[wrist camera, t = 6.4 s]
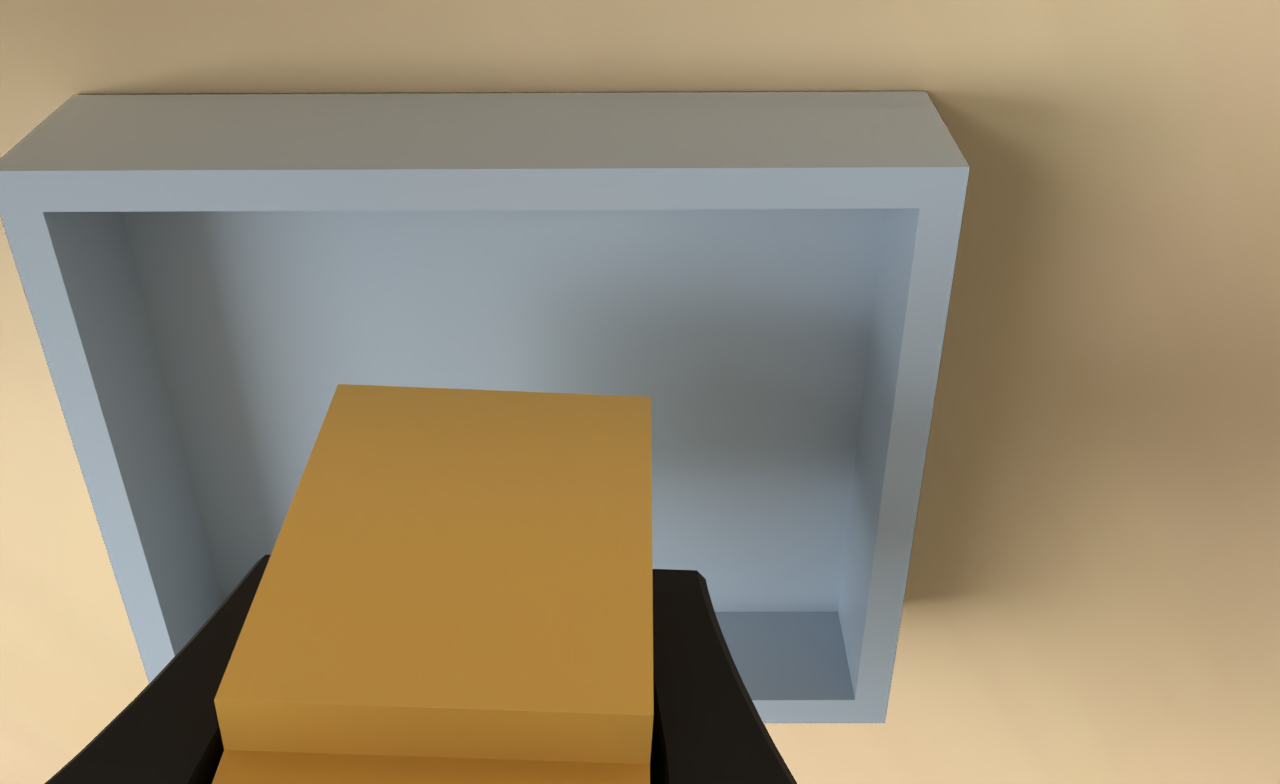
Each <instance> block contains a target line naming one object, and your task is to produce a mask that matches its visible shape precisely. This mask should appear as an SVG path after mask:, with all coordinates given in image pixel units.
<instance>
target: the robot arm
mask: <svg viewBox="0 0 1280 784" xmlns="http://www.w3.org/2000/svg"><path fill="white" fill-rule="evenodd" d="M270 556H271V555H264V556H263V557H262V558H261V559H260V560H258V561H257V562H256V563H255V565H254V566H253V567H252V568H251V569H250V571H249V572H248V573H247V574H246V575H245V577H244V578H243V579H242V580H241V581H240V582H239V584H238V585H237V586H236V587H235V588H234V590H233V591H232V592H231V593H230V594H229V596H228V597H227V598H226V599H225V600H224V601H223V603H222V604H221V605H220V606H219V607H218V608H217V610H216V611H215V612H214V613H213V614H212V615H211V617H210V618H209V619H208V620H207V621H206V622H205V623H204V625H203V626H202V627H201V628H200V629H199V630H198V631H197V632H196V634H195V635H194V636H193V637H192V638H191V639H190V640H189V642H188V643H187V644H186V645H185V646H184V647H183V648H182V649H181V650H180V651H179V652H178V653H177V655H176V656H175V657H174V658H173V659H172V660H171V661H170V662H169V663H168V664H167V665H166V666H165V667H164V669H163V670H162V671H161V672H160V673H159V674H158V675H157V676H156V677H155V678H154V679H153V680H152V681H151V683H150V684H149V685H148V686H147V687H146V688H145V689H144V690H143V691H142V692H141V693H140V694H139V695H138V696H137V697H136V698H135V699H134V700H133V701H132V702H131V703H130V704H129V705H128V706H127V707H126V708H125V709H124V710H123V711H122V712H121V713H120V714H119V715H118V716H117V717H116V718H115V719H114V720H113V721H112V722H111V723H110V724H109V725H108V726H107V727H105V728H104V729H103V730H102V731H101V732H100V733H99V734H98V735H97V736H96V737H95V738H94V739H93V740H92V741H91V742H90V743H89V744H88V745H87V746H86V747H85V748H84V749H83V750H82V751H81V752H80V753H79V754H77V755H76V756H75V757H74V758H73V759H72V760H71V761H70V762H69V763H67V764H66V765H65V766H64V767H63V768H62V769H61V770H60V771H59V772H58V773H56V774H55V775H54V776H53V777H52V778H51V779H50V780H48V781H47V782H46V783H45V784H212V782H213V779H214V776H215V774H216V771H217V768H218V765H219V763H220V760H221V757H222V754H223V752H224V747H223V742H222V737H221V732H220V727H219V722H218V717H217V713H216V708H215V703H214V699H215V696H216V694H217V691H218V689H219V686H220V684H221V681H222V678H223V676H224V673H225V671H226V668H227V666H228V663H229V661H230V658H231V656H232V653H233V650H234V648H235V645H236V643H237V640H238V638H239V635H240V633H241V630H242V628H243V625H244V622H245V620H246V617H247V615H248V612H249V610H250V607H251V605H252V602H253V600H254V597H255V594H256V592H257V589H258V587H259V584H260V582H261V579H262V577H263V574H264V572H265V569H266V566H267V564H268V561H269V559H270ZM652 571H653V693H654V718H653V731H652V744H651V757H650V784H797V783H796V781H795V779H794V778H793V776H792V774H791V772H790V771H789V769H788V767H787V765H786V764H785V762H784V760H783V758H782V757H781V755H780V753H779V751H778V750H777V748H776V746H775V744H774V742H773V741H772V739H771V737H770V735H769V733H768V731H767V729H766V727H765V725H764V724H763V722H762V720H761V718H760V716H759V714H758V711H757V709H756V707H755V705H754V703H753V701H752V699H751V697H750V695H749V693H748V691H747V689H746V687H745V685H744V683H743V681H742V679H741V676H740V674H739V672H738V670H737V667H736V665H735V663H734V661H733V658H732V656H731V653H730V651H729V648H728V646H727V643H726V641H725V639H724V636H723V634H722V631H721V628H720V625H719V623H718V620H717V617H716V614H715V611H714V608H713V605H712V602H711V598H710V595H709V591H708V587H707V583H706V579H705V578H704V577H703V576H702V575H701V574H700V573H699V572H698V571H697V570H672V569H652Z"/></svg>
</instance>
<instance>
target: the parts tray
mask: <svg viewBox="0 0 1280 784" xmlns="http://www.w3.org/2000/svg"><path fill="white" fill-rule="evenodd" d="M969 170H970V166H969V165H968V163H967V161H966V159H965V158H964V156H963V154H962V153H961V151H960V149H959V147H958V146H957V144H956V142H955V140H954V139H953V137H952V135H951V134H950V132H949V130H948V128H947V127H946V125H945V123H944V121H943V120H942V118H941V116H940V115H939V113H938V111H937V109H936V108H935V106H934V104H933V103H932V101H931V99H930V97H929V96H928V94H927V92H926V91H865V92H631V93H397V94H163V95H73V96H72V97H70V98H69V99H68V100H67V101H66V102H65V103H64V104H62V105H61V106H60V107H59V108H58V109H57V110H56V111H54V112H53V113H52V114H51V115H50V116H49V117H47V118H46V119H45V120H44V121H43V122H42V123H41V124H39V125H38V126H37V127H36V128H35V129H34V130H33V131H31V132H30V133H29V134H28V135H27V136H26V137H25V138H23V139H22V140H21V141H20V142H19V143H18V144H16V145H15V146H14V147H13V148H12V149H11V150H10V151H8V152H7V153H6V154H5V155H4V156H3V157H2V158H0V217H1V220H2V223H3V226H4V229H5V232H6V236H7V239H8V242H9V245H10V248H11V251H12V254H13V258H14V261H15V264H16V267H17V270H18V273H19V276H20V279H21V283H22V286H23V289H24V292H25V295H26V298H27V301H28V305H29V308H30V311H31V314H32V317H33V320H34V323H35V327H36V330H37V333H38V336H39V339H40V342H41V345H42V349H43V352H44V355H45V358H46V361H47V364H48V367H49V370H50V374H51V377H52V380H53V383H54V386H55V389H56V392H57V396H58V399H59V402H60V405H61V408H62V411H63V414H64V418H65V421H66V424H67V427H68V430H69V433H70V436H71V440H72V443H73V446H74V449H75V452H76V455H77V458H78V462H79V465H80V468H81V471H82V474H83V477H84V480H85V483H86V487H87V490H88V493H89V496H90V499H91V502H92V505H93V509H94V512H95V515H96V518H97V521H98V524H99V527H100V531H101V534H102V537H103V540H104V543H105V546H106V549H107V553H108V556H109V559H110V562H111V565H112V568H113V571H114V574H115V578H116V581H117V584H118V587H119V590H120V593H121V596H122V600H123V603H124V606H125V609H126V612H127V615H128V618H129V622H130V625H131V628H132V631H133V634H134V637H135V640H136V644H137V647H138V650H139V653H140V656H141V659H142V662H143V665H144V669H145V672H146V675H147V678H148V681H149V684H150V683H151V681H152V680H153V679H154V678H155V677H156V676H157V675H158V674H159V673H160V672H161V671H162V670H163V669H164V667H165V666H166V665H167V664H168V663H169V662H170V661H171V660H172V659H173V658H174V657H175V656H176V655H177V653H178V652H179V651H180V650H181V649H182V648H183V647H184V646H185V645H186V644H187V643H188V642H189V640H190V639H191V638H192V637H193V636H194V635H195V634H196V632H197V631H198V630H199V629H200V628H201V627H202V626H203V625H204V623H205V622H206V621H207V620H208V619H209V618H210V617H211V615H212V614H213V613H214V612H215V611H216V610H217V608H218V607H219V606H220V605H221V604H222V603H223V601H224V600H225V599H226V598H227V597H228V596H229V594H230V593H231V592H232V591H233V590H234V588H235V587H236V586H237V585H238V584H239V582H240V581H241V580H242V579H243V578H244V577H245V575H246V574H247V573H248V572H249V571H250V569H251V568H252V567H253V566H254V565H255V563H256V562H257V561H258V560H260V559H261V558H262V557H263V556H264V555H271V554H272V551H273V549H274V546H275V544H276V541H277V538H278V536H279V533H280V531H281V528H282V526H283V523H284V521H285V518H286V516H287V513H288V510H289V508H290V505H291V503H292V500H293V498H294V495H295V493H296V490H297V488H298V485H299V482H300V480H301V477H302V475H303V472H304V470H305V467H306V465H307V462H308V460H309V457H310V454H311V452H312V449H313V447H314V444H315V442H316V439H317V437H318V434H319V432H320V429H321V426H322V424H323V421H324V419H325V416H326V414H327V411H328V409H329V406H330V404H331V401H332V398H333V396H334V393H335V391H336V388H337V386H338V384H350V385H375V386H399V387H424V388H448V389H473V390H497V391H522V392H546V393H571V394H595V395H620V396H644V397H651V449H652V569H672V570H697V571H698V572H699V573H700V574H701V575H702V576H703V577H704V578H705V579H706V583H707V587H708V591H709V595H710V598H711V602H712V605H713V608H714V611H715V614H716V617H717V620H718V623H719V625H720V628H721V631H722V634H723V636H724V639H725V641H726V643H727V646H728V648H729V651H730V653H731V656H732V658H733V661H734V663H735V665H736V667H737V670H738V672H739V674H740V676H741V679H742V681H743V683H744V685H745V687H746V689H747V691H748V693H749V695H750V697H751V699H752V701H753V703H754V705H755V707H756V709H757V711H758V714H759V716H760V718H761V720H762V722H763V723H885V719H886V713H887V706H888V700H889V693H890V687H891V680H892V674H893V667H894V661H895V654H896V648H897V641H898V634H899V628H900V621H901V615H902V608H903V602H904V595H905V589H906V582H907V576H908V569H909V562H910V556H911V549H912V543H913V536H914V530H915V523H916V517H917V510H918V504H919V497H920V490H921V484H922V477H923V471H924V464H925V458H926V451H927V445H928V438H929V432H930V425H931V418H932V412H933V405H934V399H935V392H936V386H937V379H938V373H939V366H940V360H941V353H942V346H943V340H944V333H945V327H946V320H947V314H948V307H949V301H950V294H951V288H952V281H953V275H954V268H955V261H956V255H957V248H958V242H959V235H960V229H961V222H962V216H963V209H964V203H965V196H966V189H967V183H968V176H969Z"/></svg>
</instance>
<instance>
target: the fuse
mask: <svg viewBox="0 0 1280 784" xmlns="http://www.w3.org/2000/svg"><path fill="white" fill-rule="evenodd" d="M214 703H215V708H216V713H217V717H218V722H219V727H220V732H221V737H222V742H223V747H224V752H223V754H222V757H221V760H220V763H219V765H218V768H217V771H216V774H215V776H214V779H213V782H212V784H650V757H651V744H652V731H653V718H654V693H653V571H652V449H651V397H644V396H620V395H595V394H571V393H546V392H522V391H497V390H473V389H448V388H424V387H399V386H375V385H350V384H338V386H337V388H336V391H335V393H334V396H333V398H332V401H331V404H330V406H329V409H328V411H327V414H326V416H325V419H324V421H323V424H322V426H321V429H320V432H319V434H318V437H317V439H316V442H315V444H314V447H313V449H312V452H311V454H310V457H309V460H308V462H307V465H306V467H305V470H304V472H303V475H302V477H301V480H300V482H299V485H298V488H297V490H296V493H295V495H294V498H293V500H292V503H291V505H290V508H289V510H288V513H287V516H286V518H285V521H284V523H283V526H282V528H281V531H280V533H279V536H278V538H277V541H276V544H275V546H274V549H273V551H272V554H271V556H270V559H269V561H268V564H267V566H266V569H265V572H264V574H263V577H262V579H261V582H260V584H259V587H258V589H257V592H256V594H255V597H254V600H253V602H252V605H251V607H250V610H249V612H248V615H247V617H246V620H245V622H244V625H243V628H242V630H241V633H240V635H239V638H238V640H237V643H236V645H235V648H234V650H233V653H232V656H231V658H230V661H229V663H228V666H227V668H226V671H225V673H224V676H223V678H222V681H221V684H220V686H219V689H218V691H217V694H216V696H215V699H214Z"/></svg>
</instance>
